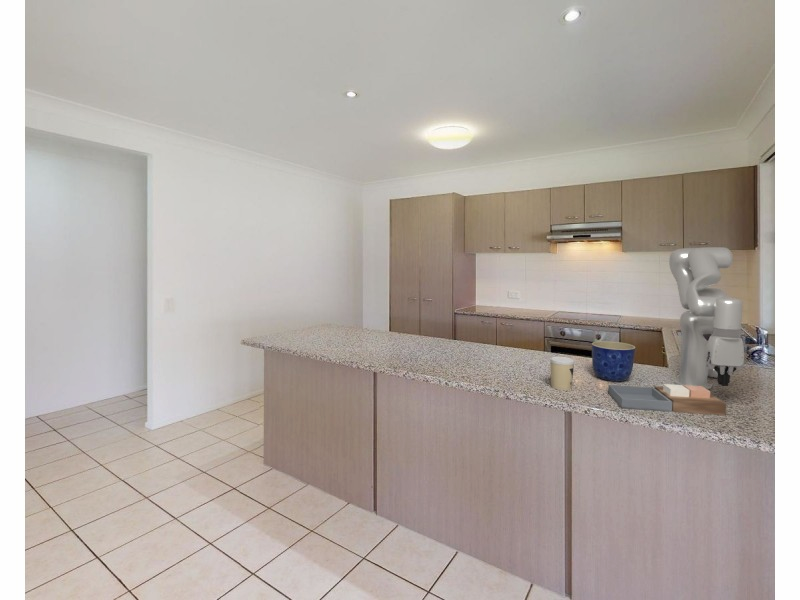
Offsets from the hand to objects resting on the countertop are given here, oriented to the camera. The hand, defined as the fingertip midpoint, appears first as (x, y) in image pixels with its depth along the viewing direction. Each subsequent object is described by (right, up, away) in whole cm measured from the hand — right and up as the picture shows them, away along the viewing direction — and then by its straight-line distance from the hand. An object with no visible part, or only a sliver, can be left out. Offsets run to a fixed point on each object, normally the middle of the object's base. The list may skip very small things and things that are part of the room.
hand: (723, 384), depth 142 cm
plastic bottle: (+26, -5, +37) cm, 46 cm away
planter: (-21, -5, +36) cm, 42 cm away
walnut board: (-10, -8, +4) cm, 13 cm away
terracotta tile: (-8, -4, +3) cm, 9 cm away
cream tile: (-14, -4, +4) cm, 15 cm away
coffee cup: (-47, -7, +24) cm, 54 cm away
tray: (-26, -8, +7) cm, 28 cm away
